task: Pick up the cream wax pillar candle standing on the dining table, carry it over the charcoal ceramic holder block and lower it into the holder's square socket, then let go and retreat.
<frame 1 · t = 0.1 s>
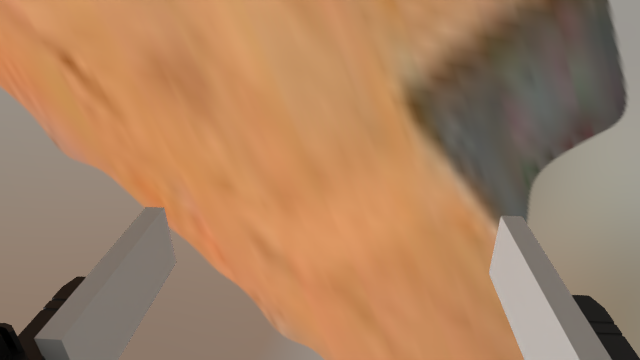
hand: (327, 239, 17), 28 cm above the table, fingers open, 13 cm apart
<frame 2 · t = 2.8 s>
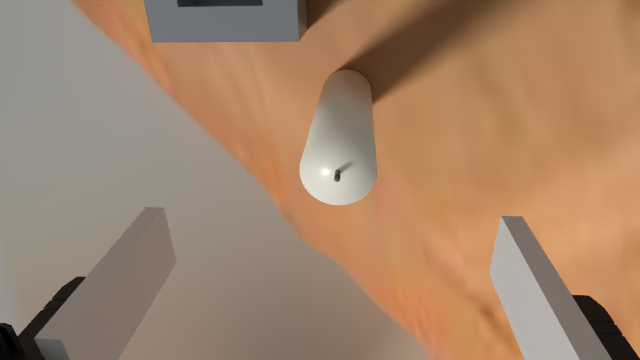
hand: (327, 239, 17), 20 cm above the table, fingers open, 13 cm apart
candle: (346, 94, 34), on the table
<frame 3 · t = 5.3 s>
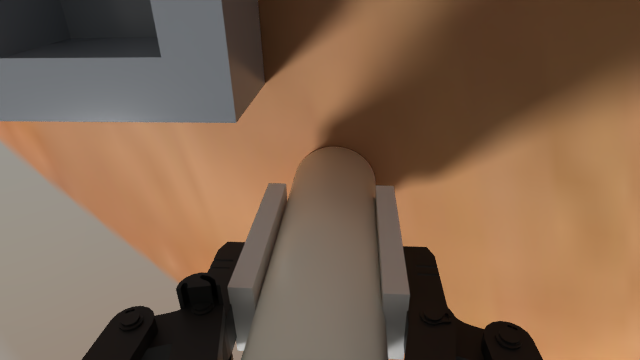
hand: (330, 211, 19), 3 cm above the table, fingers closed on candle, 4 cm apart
candle: (334, 183, 21), on the table, touching gripper
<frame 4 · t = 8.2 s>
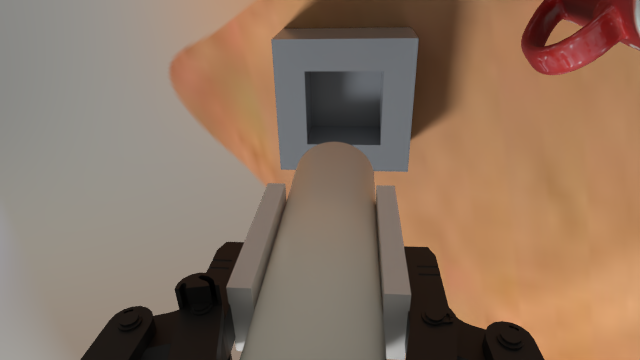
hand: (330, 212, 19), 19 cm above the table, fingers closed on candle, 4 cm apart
candle: (334, 177, 21), point 16 cm above the table, touching gripper
holder: (345, 90, 35), on the table
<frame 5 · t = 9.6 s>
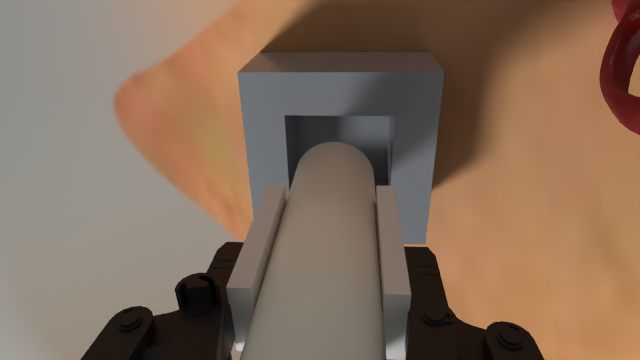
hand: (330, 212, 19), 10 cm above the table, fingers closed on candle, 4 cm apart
candle: (334, 178, 21), point 6 cm above the table, touching gripper
holder: (342, 131, 27), on the table
when the fingers open (7 cm above the table, at t = 10.9 s): candle drops 2 cm, resting on holder.
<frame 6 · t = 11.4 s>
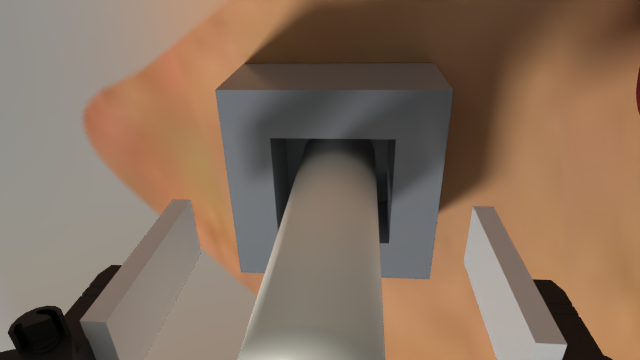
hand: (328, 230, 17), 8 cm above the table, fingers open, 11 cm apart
candle: (339, 158, 24), point 1 cm above the table, touching holder
holder: (337, 150, 24), on the table
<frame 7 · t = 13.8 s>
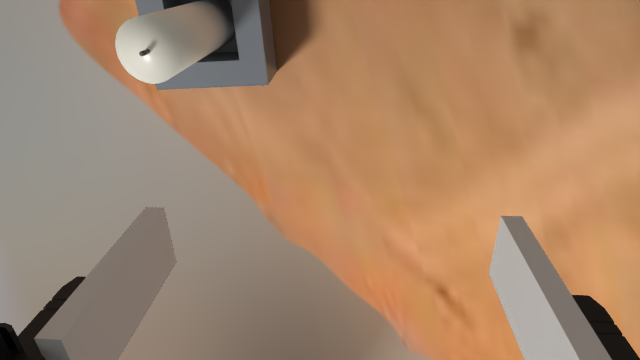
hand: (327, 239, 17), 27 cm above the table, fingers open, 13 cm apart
candle: (216, 21, 38), point 1 cm above the table, touching holder
holder: (217, 19, 39), on the table
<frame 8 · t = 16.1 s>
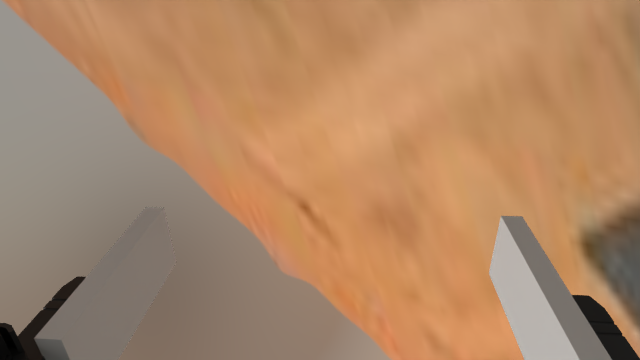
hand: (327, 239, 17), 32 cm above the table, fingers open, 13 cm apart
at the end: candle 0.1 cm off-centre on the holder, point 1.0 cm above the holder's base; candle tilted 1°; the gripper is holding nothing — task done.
